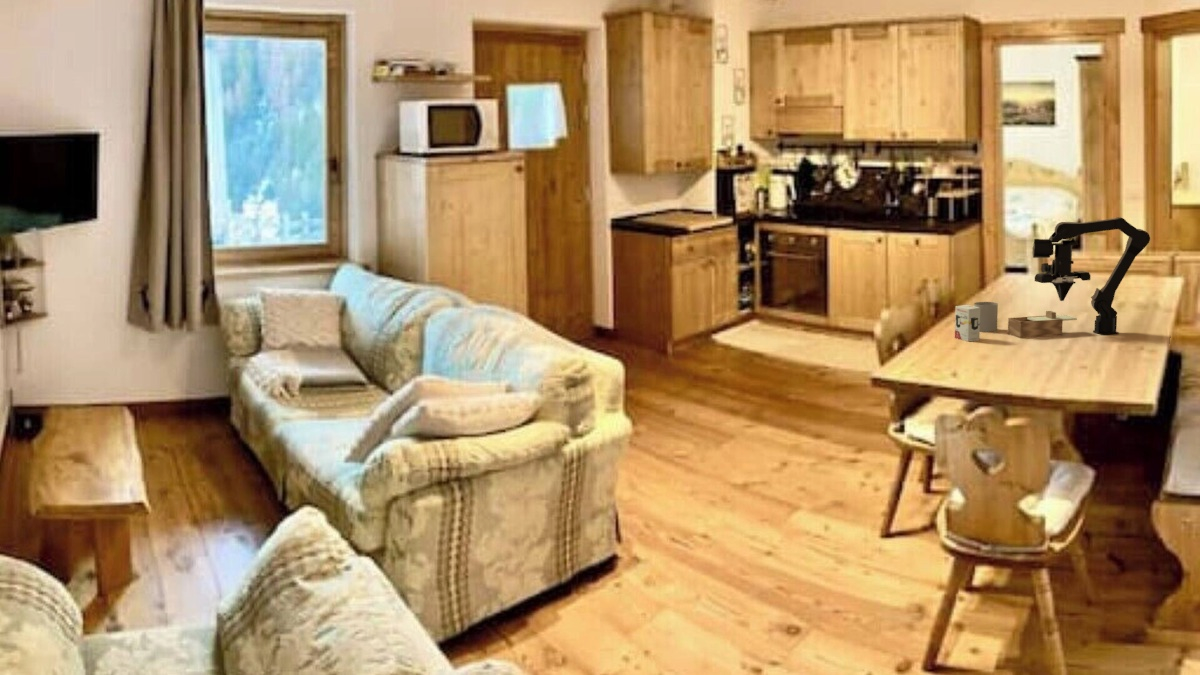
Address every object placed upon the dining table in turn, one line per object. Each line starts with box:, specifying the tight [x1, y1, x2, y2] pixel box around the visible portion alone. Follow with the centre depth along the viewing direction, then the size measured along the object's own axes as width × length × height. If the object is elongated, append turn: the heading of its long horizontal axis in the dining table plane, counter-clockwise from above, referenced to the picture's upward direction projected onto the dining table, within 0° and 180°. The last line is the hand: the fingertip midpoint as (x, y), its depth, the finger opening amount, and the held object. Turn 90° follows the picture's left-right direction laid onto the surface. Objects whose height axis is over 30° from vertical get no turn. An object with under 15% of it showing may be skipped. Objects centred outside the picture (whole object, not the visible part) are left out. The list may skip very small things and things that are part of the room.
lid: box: [1026, 310, 1078, 322], centre depth 434 cm, size 15×8×3 cm, turn 99°
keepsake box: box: [1007, 315, 1064, 339], centre depth 434 cm, size 16×9×6 cm, turn 99°
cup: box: [973, 301, 999, 333], centre depth 445 cm, size 8×8×10 cm
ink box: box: [954, 304, 981, 342], centre depth 429 cm, size 9×5×12 cm, turn 17°
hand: (1061, 300), depth 434 cm, fingers closed
